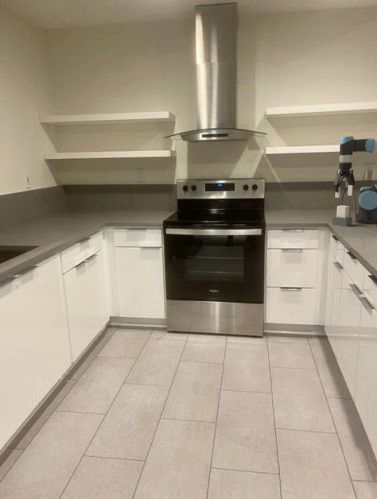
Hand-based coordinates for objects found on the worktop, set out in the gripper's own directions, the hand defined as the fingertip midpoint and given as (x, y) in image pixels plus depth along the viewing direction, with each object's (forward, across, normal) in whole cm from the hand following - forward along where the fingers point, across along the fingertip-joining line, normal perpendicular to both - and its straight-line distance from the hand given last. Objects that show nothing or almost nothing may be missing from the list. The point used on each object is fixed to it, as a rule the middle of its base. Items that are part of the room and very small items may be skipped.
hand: (343, 196), depth 241 cm
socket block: (+18, 0, 0) cm, 18 cm away
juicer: (+18, -17, -6) cm, 26 cm away
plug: (+18, 0, 0) cm, 18 cm away
